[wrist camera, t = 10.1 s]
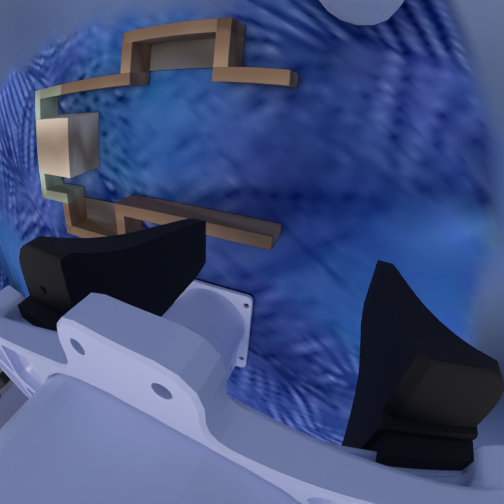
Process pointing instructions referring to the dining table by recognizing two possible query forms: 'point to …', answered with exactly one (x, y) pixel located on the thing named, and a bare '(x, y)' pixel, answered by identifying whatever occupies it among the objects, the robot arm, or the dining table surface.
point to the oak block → (68, 144)
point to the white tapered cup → (362, 10)
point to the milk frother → (4, 382)
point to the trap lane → (138, 73)
